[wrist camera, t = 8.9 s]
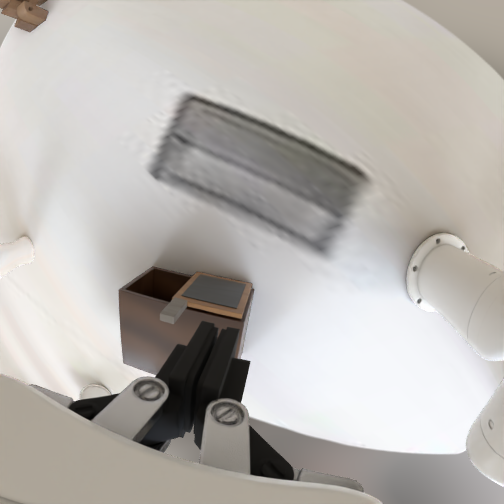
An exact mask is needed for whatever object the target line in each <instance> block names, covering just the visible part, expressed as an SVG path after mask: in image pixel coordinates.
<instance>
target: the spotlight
mask: <svg viewBox="0 0 504 504" xmlns="http://www.w3.org/2000/svg"><path fill="white" fill-rule="evenodd" d="M108 395H111V393H110V392H109V391H108V390H107V389H106V388H104V387H103V386H101V385H97V384H89V385H87V386H85V387H84V388H83V389H82V391H81V392H80V400H81V399H88V398H95V397H102V396H108Z"/></svg>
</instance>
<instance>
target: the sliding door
mask: <svg viewBox="0 0 504 504" xmlns="http://www.w3.org/2000/svg"><path fill="white" fill-rule="evenodd" d="M251 288H252V283H247V282H242V281H238V280H233V279H228V278H223V277H219V276H214V275H210V274H205V273H201V272H196V273H195V274H194V275H193V276H192V277H191V278H190V279H189V280H188V282H187V283H186V284H185V285H184V286H183V287H182V288H181V289H180V290H179V291H178V292H177V293H176V294H175V295H174V296H173V297H172V301H171V302H170V303H169V304H168V305H167V306H166V307H165V308H164V309H163V310H162V312H161V313H160V320H161V321H164V322H168V323H171V324H174V323H175V322H176V321H177V319H178V318H179V317H180V315H181V314H182V313H183V311H184V310H185V309H186V307H187V306H189V307H193V308H197V309H201V310H205V311H209V312H213V313H218V314H222V315H226V316H231V317H235V318H240V319H242V316H243V313H244V310H245V307H246V303H247V300H248V297H249V294H250V291H251Z"/></svg>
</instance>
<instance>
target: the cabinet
mask: <svg viewBox="0 0 504 504" xmlns="http://www.w3.org/2000/svg"><path fill="white" fill-rule="evenodd" d="M191 277H192V276H191V275H186V274H182V273H178V272H174V271H169V270H165V269H161V268H157V267H151V268H150V269H148V270H147V271H145V272H144V273H142V274H141V275H139V276H138V277H136V278H135V279H134V280H132V281H131V282H129V283H128V284H126V285H125V286H123V287H122V288H121V289H119V312H120V330H121V342H122V353H123V363H124V364H127V365H129V366H132V367H135V368H137V369H140V370H143V371H146V372H149V373H152V374H155V375H157V374H158V372H159V371H160V369H161V368H162V366H163V365H164V363H165V362H166V360H167V359H168V357H169V356H170V354H171V353H172V351H173V350H174V348H175V347H176V345H177V344H182V345H185V346H187V345H188V343H189V341H190V340H191V338H192V336H193V335H194V333H195V332H196V330H197V328H198V327H199V325H200V323H201V322H202V321H206V322H210V323H214V324H215V327H217V328H219V330H218V336H219V334H220V332H221V330H222V329H227V327H232V328H236V329H240V332H239V338H238V343H237V349H236V354H235V358H238V359H241V355H242V350H243V345H244V340H245V335H246V330H247V325H248V319H249V314H250V309H251V304H252V299H253V294H254V289H251V291H250V294H249V297H248V300H247V303H246V307H245V310H244V313H243V316H242V319H240V318H235V317H231V316H226V315H222V314H218V313H213V312H209V311H205V310H201V309H197V308H193V307H189V306H187V307H186V309H185V310H184V311H183V313H182V314H181V315H180V317H179V318H178V319H177V321H176V322H175V323H174V324H171V323H168V322H164V321H161V320H160V313H161V312H162V310H163V309H164V308H165V307H166V306H167V305H168V304H169V303H170V302H171V301H172V297H173V296H174V295H175V294H176V293H177V292H178V291H179V290H180V289H181V288H182V287H183V286H184V285H185V284H186V283H187V282H188V280H189V279H190V278H191ZM217 339H218V338H217Z"/></svg>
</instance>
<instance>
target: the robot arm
mask: <svg viewBox="0 0 504 504" xmlns="http://www.w3.org/2000/svg"><path fill="white" fill-rule="evenodd" d="M413 267H414V268H413ZM406 284H407V290H408V293H409V296H410V298H411V299H412V301H413V302H414V303H415V304H416V306H418V307H419V308H420V309H422V310H424V311H428V312H438V313H439V314H440V315H441V316H442V317H443V318H444V319H445V320H446V321H447V322H448V323H449V324H450V325H451V327H452V328H453V329H454V330H455V331H456V332H457V333H458V334H459V335H460V336H461V337H462V338H463V339H464V340H465V341H466V342H467V344H468V345H469V346H470V347H471V348H472V349H473V350H474V351H475V352H476V353H477V354H478V355H479V356H480V357H482V358H484V359H486V360H489V361H501V360H504V271H502V270H500V269H498V268H497V267H495V266H493V265H491V264H489V263H487V262H485V261H483V260H481V259H479V258H477V257H475V256H473V255H471V254H469V251H468V249H467V246H466V245H465V244H464V242H463V241H462V240H461V239H460V238H458V237H456V236H454V235H452V234H448V233H440V234H436V235H433V236H431V237H429V238H428V239H426V240H425V241H424V242H423V243H422V244H421V245H420V246H419V247H418V248H417V250H416V251H415V253H414V254H413V256H412V258H411V260H410V263H409V266H408V270H407V278H406ZM218 330H219V328H217V327H215V324H214V323H210V322H206V321H202V322H201V323H200V325H199V327H198V328H197V330H196V332H195V333H194V335H193V336H192V338H191V340H190V341H189V343H188V345H187V346H185V345H182V344H177V345H176V347H175V348H174V350H173V351H172V353H171V354H170V356H169V357H168V359H167V360H166V362H165V363H164V365H163V366H162V368H161V369H160V371H159V372H158V374H157V375H156V377H141V378H138V379H136V380H134V381H133V382H132V383H131V384H130V385H129V386H127V387H126V388H125V389H124V390H123V391H122V392H121V393H120V394H114V395H108V396H102V397H95V398H88V399H81V400H78V401H73V399H72V398H70V397H67V396H64V395H61V394H58V393H56V392H53V391H50V390H47V389H45V388H42V387H40V386H37V385H33V384H31V385H28V384H26V383H24V382H22V381H20V380H18V379H16V378H13V377H10V376H7V375H4V374H0V504H383V503H382V502H381V501H380V500H378V499H376V498H375V497H373V496H370V495H368V494H366V493H363V488H362V486H361V484H360V483H358V482H357V481H356V480H353V479H350V478H344V477H338V476H334V475H329V474H324V473H319V472H315V471H311V470H307V469H303V468H302V469H301V470H298V469H294V468H292V467H291V465H290V464H289V463H288V462H287V461H286V460H285V459H284V458H283V457H282V456H281V455H280V454H278V453H277V452H276V451H275V450H274V449H273V448H272V447H271V446H270V445H269V444H268V443H267V442H266V441H265V440H264V439H263V438H262V437H261V436H260V435H259V434H258V433H257V432H256V431H255V430H254V429H253V428H252V427H251V426H250V425H249V414H248V410H247V409H246V407H245V406H244V405H243V404H241V401H242V396H243V392H244V387H245V383H246V379H247V374H248V370H249V365H250V361H247V360H242V359H238V358H235V354H236V349H237V343H238V338H239V332H240V329H236V328H232V327H227V329H222V330H221V332H220V334H219V336H218ZM217 338H218V339H217ZM193 424H194V434H195V440H194V442H195V444H196V445H197V446H198V447H199V449H200V450H201V452H200V459H199V464H198V463H195V462H191V461H188V460H184V459H181V458H178V457H175V456H172V455H169V454H166V453H164V451H165V450H166V449H167V447H168V446H169V444H170V442H171V439H174V438H178V437H182V438H183V437H184V434H185V432H191V430H192V427H193ZM466 450H467V454H468V456H469V459H470V461H471V462H472V464H473V465H474V466H475V467H476V468H477V470H479V471H480V472H481V473H482V474H483V475H485V476H486V477H488V478H489V479H491V480H493V481H494V482H496V483H498V484H500V485H501V486H503V487H504V378H503V380H502V381H501V383H500V385H499V386H498V388H497V389H496V391H495V392H494V394H493V395H492V397H491V398H490V400H489V401H488V403H487V404H486V406H485V407H484V408H483V410H482V411H481V413H480V414H479V416H478V417H477V419H476V420H475V421H474V423H473V425H472V426H471V428H470V430H469V433H468V435H467V439H466Z"/></svg>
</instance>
